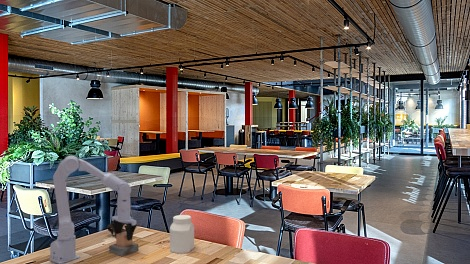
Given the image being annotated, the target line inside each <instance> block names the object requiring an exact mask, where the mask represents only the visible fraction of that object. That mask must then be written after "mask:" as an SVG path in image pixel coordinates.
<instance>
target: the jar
mask: <svg viewBox="0 0 470 264" xmlns="http://www.w3.org/2000/svg"><path fill="white" fill-rule="evenodd" d="M172 220H173V221H172V223H171V224H170V227H169V252H171V253H174V254H187V253H191V250H193V249H194V248H195V225H194V223H193V222H192V216H191V215H188V214H178V215H175V216H173V218H172Z"/></svg>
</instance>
